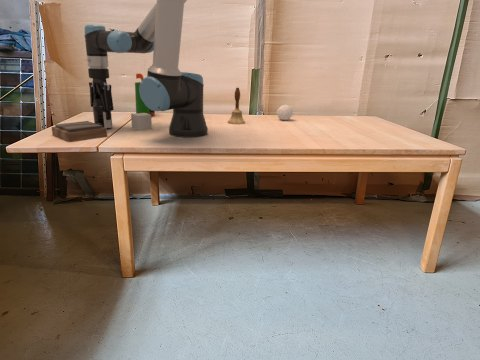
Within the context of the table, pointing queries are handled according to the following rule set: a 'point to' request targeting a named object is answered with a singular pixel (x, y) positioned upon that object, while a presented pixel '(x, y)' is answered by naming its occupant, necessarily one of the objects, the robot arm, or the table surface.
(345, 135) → the table surface
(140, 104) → the green spray bottle
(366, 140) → the table surface
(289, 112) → the whitish grey ball
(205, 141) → the table surface
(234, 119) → the hand bell
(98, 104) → the supplement bottle
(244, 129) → the table surface
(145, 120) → the grey cube
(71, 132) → the walnut plinth
